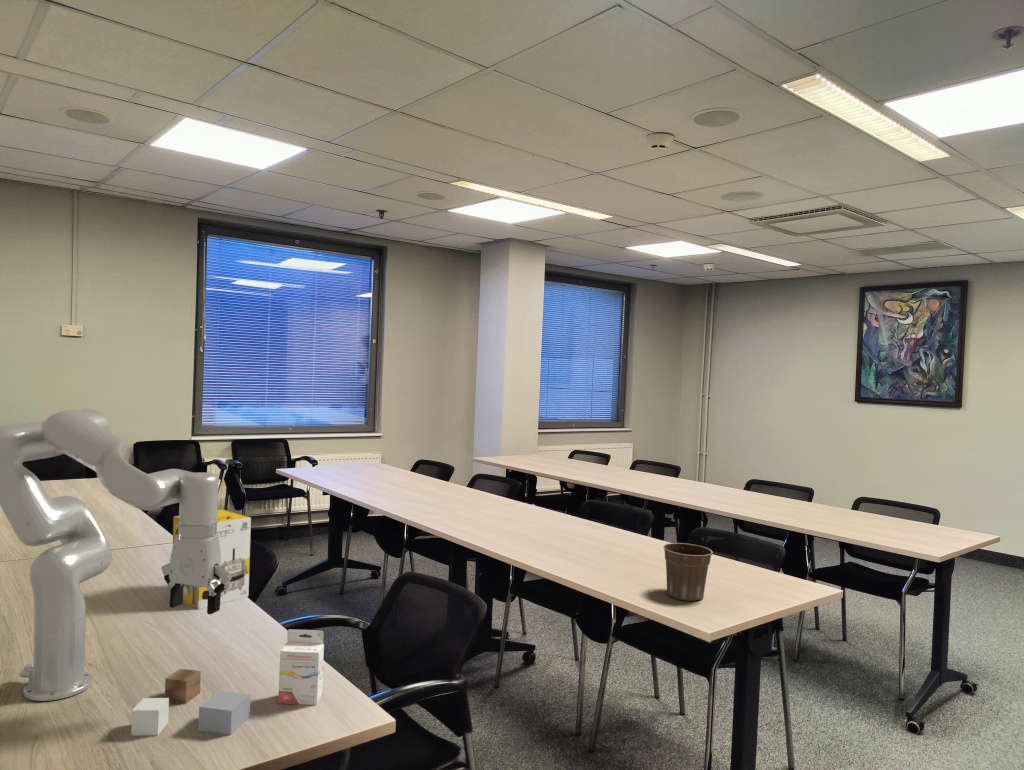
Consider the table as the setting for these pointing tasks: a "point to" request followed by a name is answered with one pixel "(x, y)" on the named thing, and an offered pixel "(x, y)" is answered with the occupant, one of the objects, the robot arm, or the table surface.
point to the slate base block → (224, 712)
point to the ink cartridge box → (301, 668)
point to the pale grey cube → (150, 716)
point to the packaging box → (226, 559)
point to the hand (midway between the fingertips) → (194, 609)
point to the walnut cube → (182, 685)
